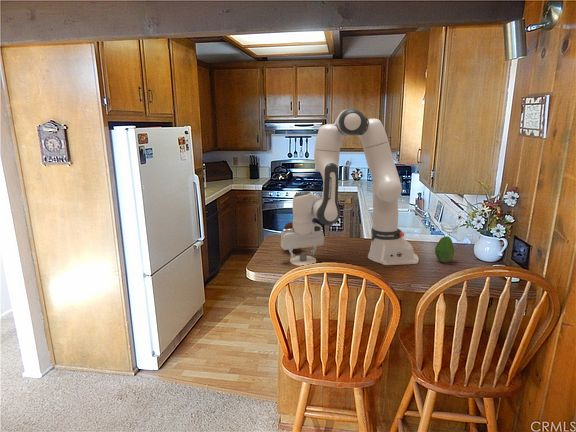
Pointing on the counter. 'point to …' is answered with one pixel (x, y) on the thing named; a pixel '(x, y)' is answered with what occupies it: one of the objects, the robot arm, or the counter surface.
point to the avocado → (444, 249)
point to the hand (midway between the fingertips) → (302, 256)
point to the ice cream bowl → (289, 226)
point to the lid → (302, 259)
